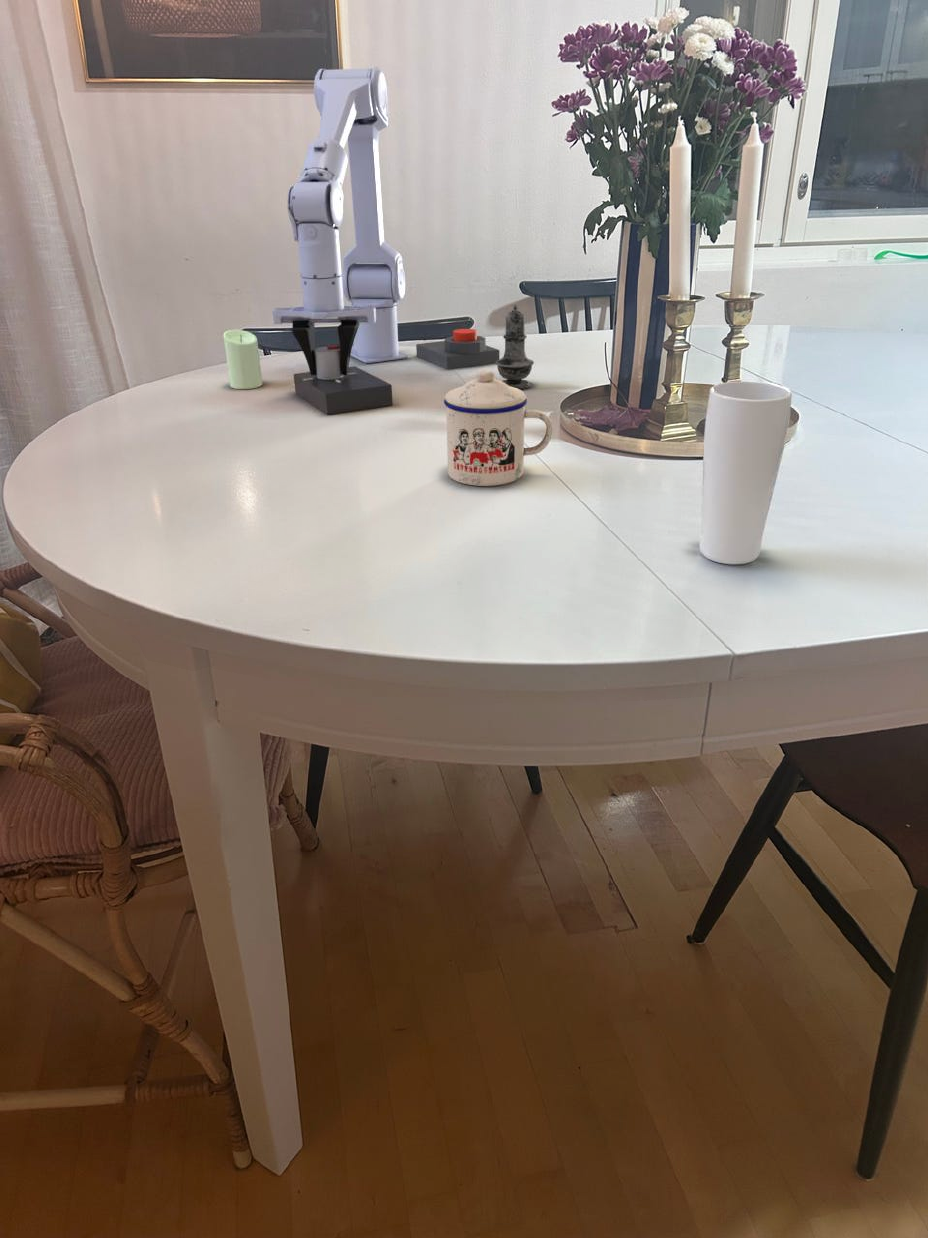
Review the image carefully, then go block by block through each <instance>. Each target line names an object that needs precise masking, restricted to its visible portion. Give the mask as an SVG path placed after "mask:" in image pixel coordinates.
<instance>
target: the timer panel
mask: <svg viewBox="0 0 928 1238" xmlns="http://www.w3.org/2000/svg"><path fill="white" fill-rule="evenodd" d="M293 382H294V392H295V395H297V396H298V397H300V398H302V399H303V400H304V401H306V402H308V403H309V404H310V405H312V406H314V407H315V408H317V409H318V410H320V411H321V412H323V413H324V414H325V415H328V416H329V415H337V414H343V413H349V412H357V411H364V410H370V409H377V408H385V407H390V406H393V405H394V404H393V403H394V402H393V385H392V384H391V383H389V382H387V381H385V380H384V379H381V378H379V377H377V376H375V375H373V374H372V373H369V372H367V371H365V370H363V369H361V367H358V366H356V365H352V366H349V372H348V374H347V375H344V376H343V377H342V378H340V379H334V380H321V379H318V378H317V377H316V375H311V374H310V371H306V372H298V373H293Z"/></svg>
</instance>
